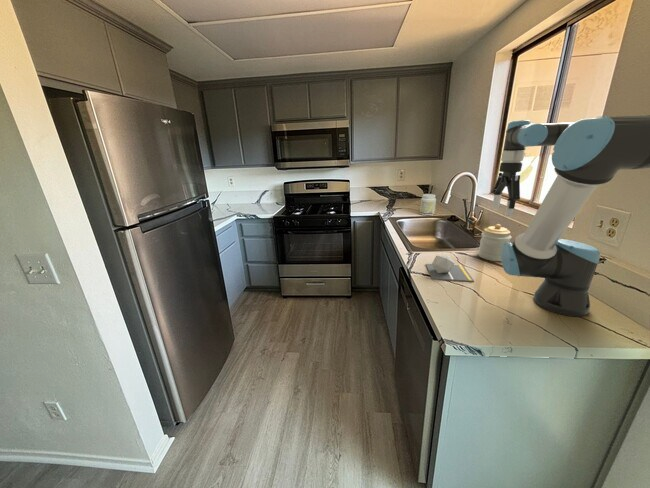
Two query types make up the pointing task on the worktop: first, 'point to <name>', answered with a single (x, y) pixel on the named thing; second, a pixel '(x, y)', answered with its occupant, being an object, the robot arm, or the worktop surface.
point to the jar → (493, 242)
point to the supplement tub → (428, 204)
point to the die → (442, 264)
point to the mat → (451, 274)
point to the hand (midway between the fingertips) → (501, 212)
